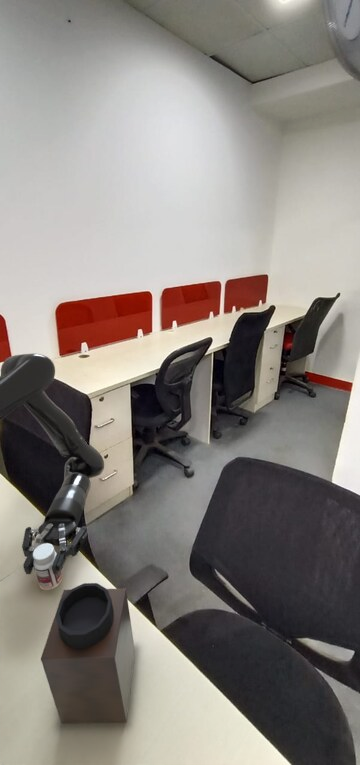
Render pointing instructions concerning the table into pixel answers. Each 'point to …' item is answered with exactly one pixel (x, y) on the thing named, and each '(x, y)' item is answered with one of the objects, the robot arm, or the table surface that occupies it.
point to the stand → (93, 670)
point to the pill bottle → (46, 566)
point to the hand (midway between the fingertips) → (40, 570)
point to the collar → (85, 615)
